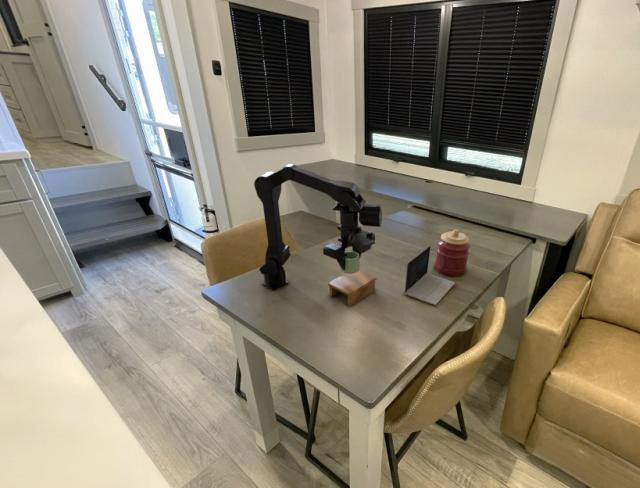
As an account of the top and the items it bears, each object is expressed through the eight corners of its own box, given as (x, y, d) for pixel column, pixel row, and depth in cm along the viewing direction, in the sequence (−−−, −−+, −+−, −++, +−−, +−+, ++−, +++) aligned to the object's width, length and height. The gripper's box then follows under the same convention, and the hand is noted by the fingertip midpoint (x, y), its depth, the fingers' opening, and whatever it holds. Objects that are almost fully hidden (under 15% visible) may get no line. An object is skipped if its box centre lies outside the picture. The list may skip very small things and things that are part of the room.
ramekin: (350, 275, 110) (350, 261, 107) (337, 269, 113) (336, 255, 110) (363, 269, 114) (363, 254, 111) (349, 263, 117) (349, 249, 114)
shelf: (349, 307, 110) (349, 293, 108) (328, 296, 115) (327, 282, 112) (376, 290, 120) (376, 277, 118) (355, 280, 125) (355, 267, 123)
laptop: (435, 306, 114) (440, 274, 107) (404, 294, 119) (406, 262, 113) (455, 284, 128) (460, 254, 121) (426, 274, 133) (429, 245, 126)
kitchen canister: (471, 269, 139) (479, 231, 130) (453, 280, 130) (460, 239, 121) (446, 258, 146) (452, 221, 137) (428, 268, 137) (433, 228, 129)
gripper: (347, 239, 94) (348, 285, 102) (387, 222, 108) (385, 264, 116) (320, 229, 100) (323, 273, 108) (361, 214, 113) (361, 254, 121)
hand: (350, 266), depth 113 cm, fingers closed on ramekin, 6 cm apart
